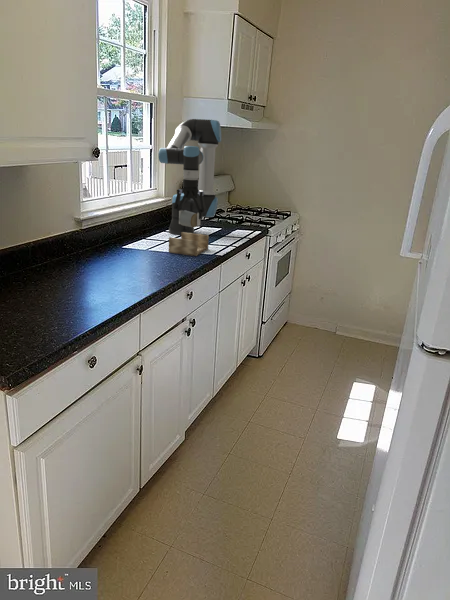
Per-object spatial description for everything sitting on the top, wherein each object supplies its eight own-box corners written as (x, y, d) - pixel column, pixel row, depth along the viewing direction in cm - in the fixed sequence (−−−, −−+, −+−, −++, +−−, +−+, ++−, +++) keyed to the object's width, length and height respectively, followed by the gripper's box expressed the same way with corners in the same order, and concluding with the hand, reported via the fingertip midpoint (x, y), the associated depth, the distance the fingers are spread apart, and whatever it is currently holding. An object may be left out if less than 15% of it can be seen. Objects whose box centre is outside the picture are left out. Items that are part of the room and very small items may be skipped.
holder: (168, 252, 245) (168, 237, 242) (182, 245, 260) (182, 232, 257) (196, 256, 241) (196, 241, 238) (208, 249, 255) (208, 235, 253)
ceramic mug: (191, 228, 241) (192, 213, 238) (178, 226, 245) (179, 210, 243) (203, 226, 249) (204, 211, 247) (191, 223, 253) (191, 209, 251)
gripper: (167, 177, 238) (166, 223, 245) (208, 181, 232) (206, 228, 239) (173, 176, 245) (173, 221, 252) (214, 180, 238) (212, 225, 246)
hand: (189, 224), depth 245 cm, fingers closed on ceramic mug, 9 cm apart
